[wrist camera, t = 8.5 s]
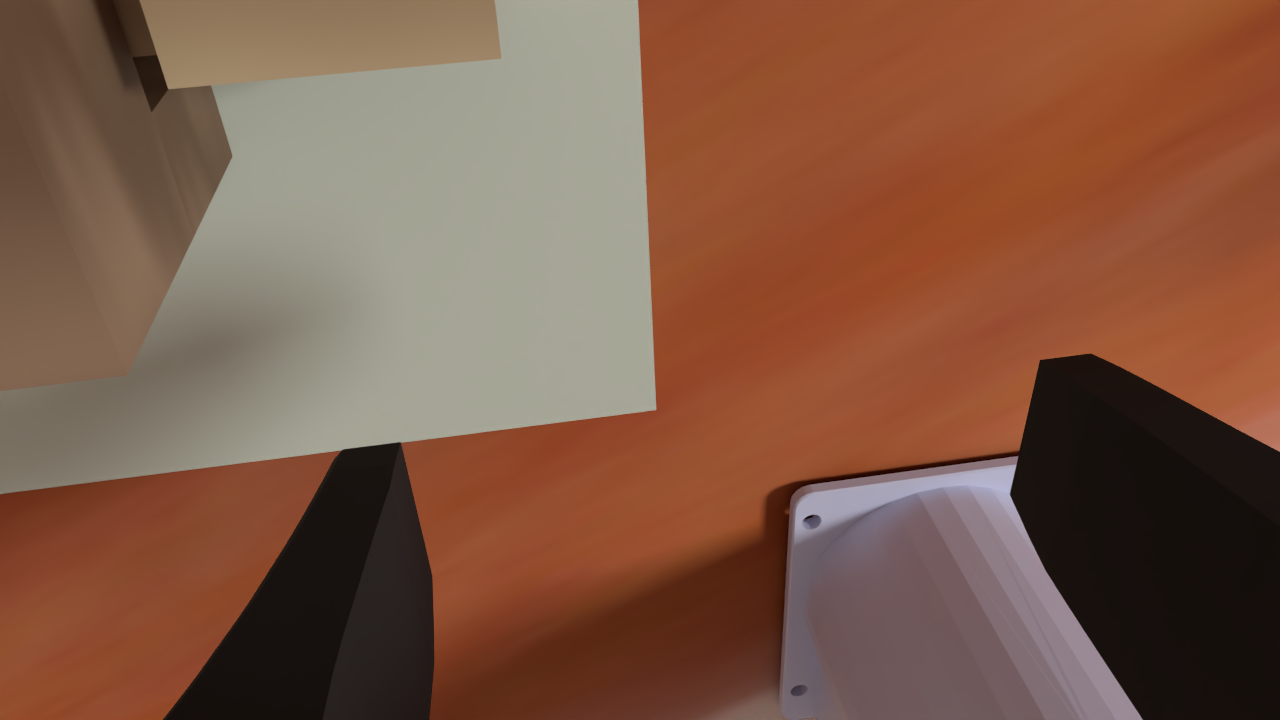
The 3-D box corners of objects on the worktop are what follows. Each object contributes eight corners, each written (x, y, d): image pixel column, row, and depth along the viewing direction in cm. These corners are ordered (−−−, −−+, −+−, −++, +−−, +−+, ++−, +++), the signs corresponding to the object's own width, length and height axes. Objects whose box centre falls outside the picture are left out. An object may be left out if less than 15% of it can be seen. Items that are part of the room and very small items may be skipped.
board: (650, 389, 23) (656, 409, 23) (-64, 479, 22) (-80, 504, 21) (616, -330, 15) (623, -332, 15) (-512, -270, 14) (-559, -267, 13)
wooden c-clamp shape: (233, 156, 18) (127, 376, 12) (130, 166, 18) (-25, 394, 12) (91, -307, 14) (-161, -300, 8) (-43, -299, 14) (-395, -286, 8)
